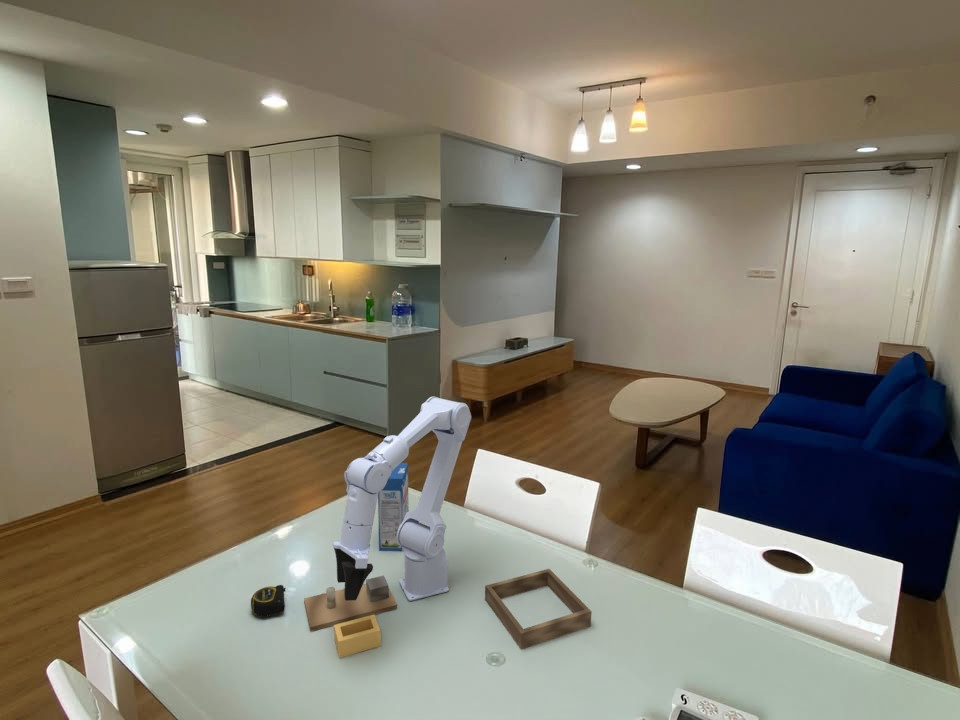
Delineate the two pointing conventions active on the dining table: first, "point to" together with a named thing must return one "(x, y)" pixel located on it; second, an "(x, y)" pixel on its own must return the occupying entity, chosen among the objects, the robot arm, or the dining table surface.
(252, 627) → the dining table surface
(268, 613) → the tape measure
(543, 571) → the frame
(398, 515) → the milk carton
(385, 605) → the board
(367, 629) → the link
